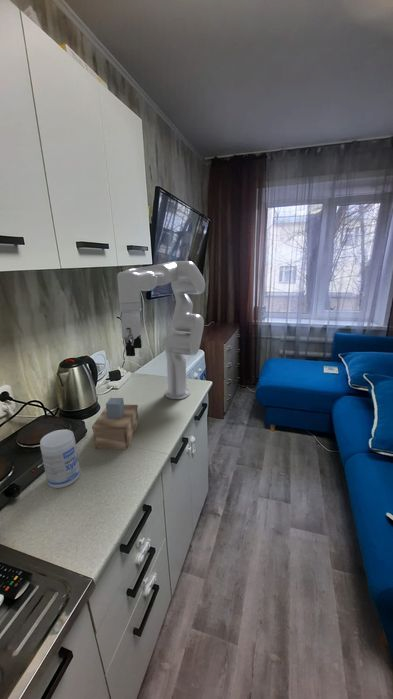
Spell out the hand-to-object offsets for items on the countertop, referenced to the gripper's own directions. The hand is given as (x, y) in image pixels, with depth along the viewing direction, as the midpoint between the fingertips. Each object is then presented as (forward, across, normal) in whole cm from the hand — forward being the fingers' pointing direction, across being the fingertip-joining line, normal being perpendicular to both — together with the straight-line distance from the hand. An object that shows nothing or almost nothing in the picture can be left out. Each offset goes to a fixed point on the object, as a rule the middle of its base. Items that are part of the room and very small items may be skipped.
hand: (134, 351), depth 108 cm
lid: (+24, +7, -7) cm, 26 cm away
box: (+32, +7, -7) cm, 34 cm away
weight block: (+23, +7, -7) cm, 25 cm away
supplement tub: (+32, +30, -17) cm, 47 cm away
